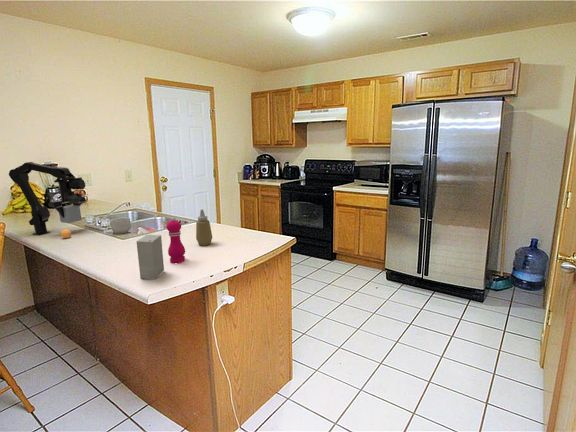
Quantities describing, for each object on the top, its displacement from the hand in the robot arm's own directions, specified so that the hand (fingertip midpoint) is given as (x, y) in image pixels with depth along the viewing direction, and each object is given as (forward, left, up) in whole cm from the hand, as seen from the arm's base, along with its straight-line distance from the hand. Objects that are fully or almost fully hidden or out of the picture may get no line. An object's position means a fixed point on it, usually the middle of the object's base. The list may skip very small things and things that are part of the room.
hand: (70, 216), depth 200 cm
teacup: (+28, +12, -10) cm, 32 cm away
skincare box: (+96, -31, -10) cm, 101 cm away
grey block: (0, 0, -3) cm, 3 cm away
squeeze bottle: (+90, +9, -10) cm, 91 cm away
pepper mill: (+94, -15, -10) cm, 96 cm away
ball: (+8, -9, -8) cm, 14 cm away
